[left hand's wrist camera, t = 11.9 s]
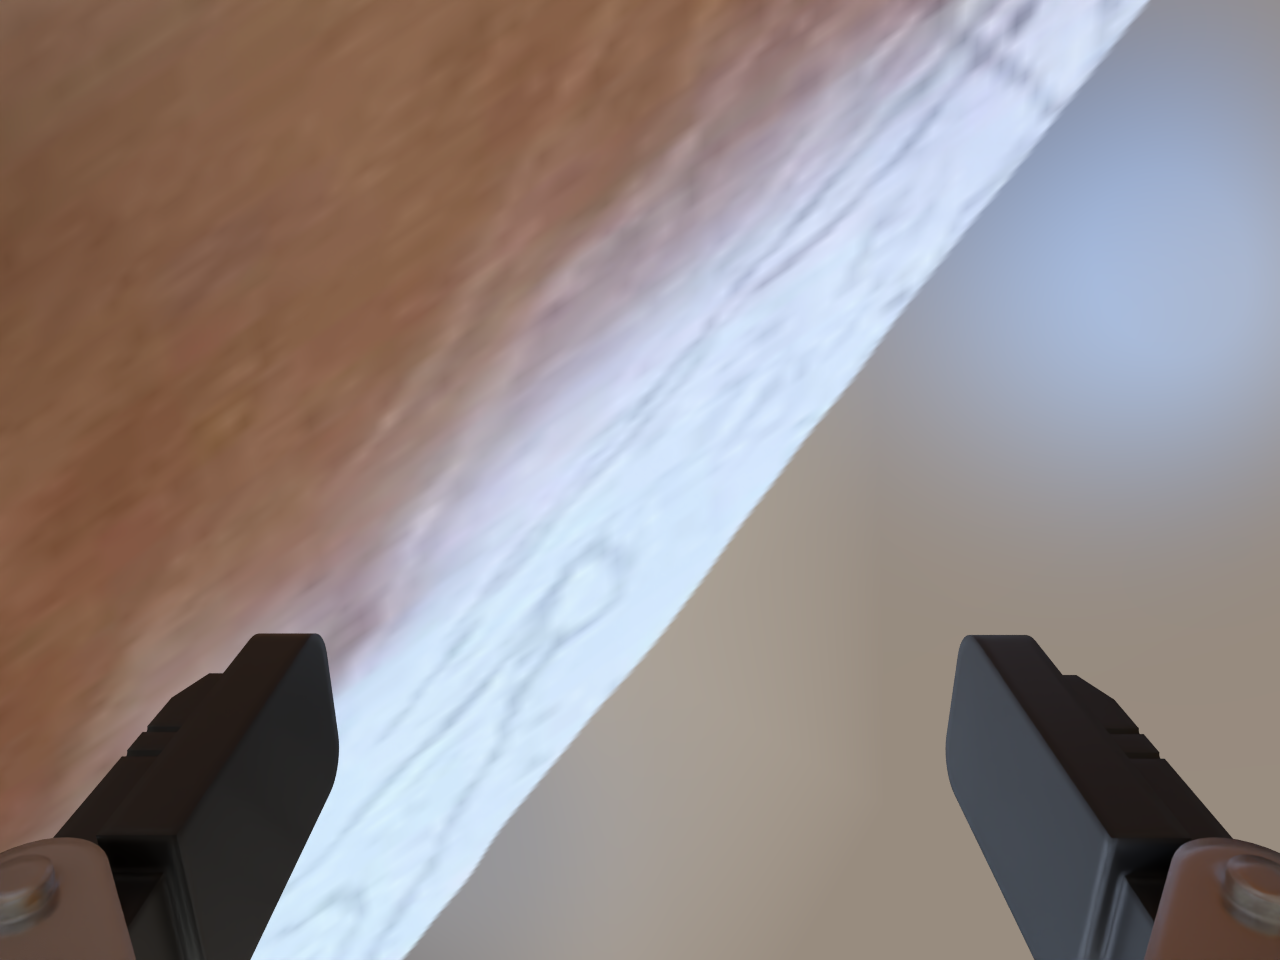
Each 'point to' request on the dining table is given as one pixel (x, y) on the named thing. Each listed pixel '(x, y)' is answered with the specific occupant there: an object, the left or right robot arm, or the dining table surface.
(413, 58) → the dining table surface
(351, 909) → the dining table surface
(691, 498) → the dining table surface
